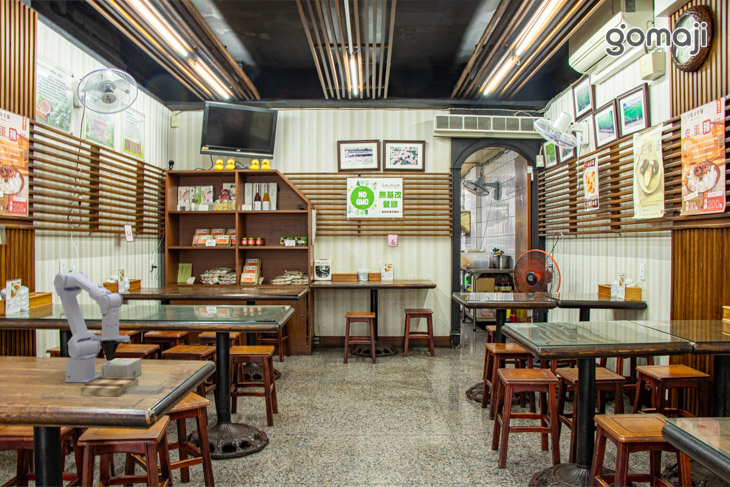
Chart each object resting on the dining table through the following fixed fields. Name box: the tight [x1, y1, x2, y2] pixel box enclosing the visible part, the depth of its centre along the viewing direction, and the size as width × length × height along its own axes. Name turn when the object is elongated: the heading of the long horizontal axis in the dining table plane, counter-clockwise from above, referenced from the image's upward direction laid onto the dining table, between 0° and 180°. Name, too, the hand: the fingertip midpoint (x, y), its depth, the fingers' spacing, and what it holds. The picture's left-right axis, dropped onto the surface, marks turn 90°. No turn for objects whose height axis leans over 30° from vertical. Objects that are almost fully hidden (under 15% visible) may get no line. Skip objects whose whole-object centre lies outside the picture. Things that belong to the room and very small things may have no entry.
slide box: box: [80, 376, 139, 398], centre depth 160 cm, size 14×12×4 cm
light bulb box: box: [100, 357, 142, 378], centre depth 176 cm, size 11×7×11 cm
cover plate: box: [124, 384, 165, 395], centre depth 159 cm, size 12×5×2 cm, turn 89°
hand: (110, 360), depth 168 cm, fingers closed
